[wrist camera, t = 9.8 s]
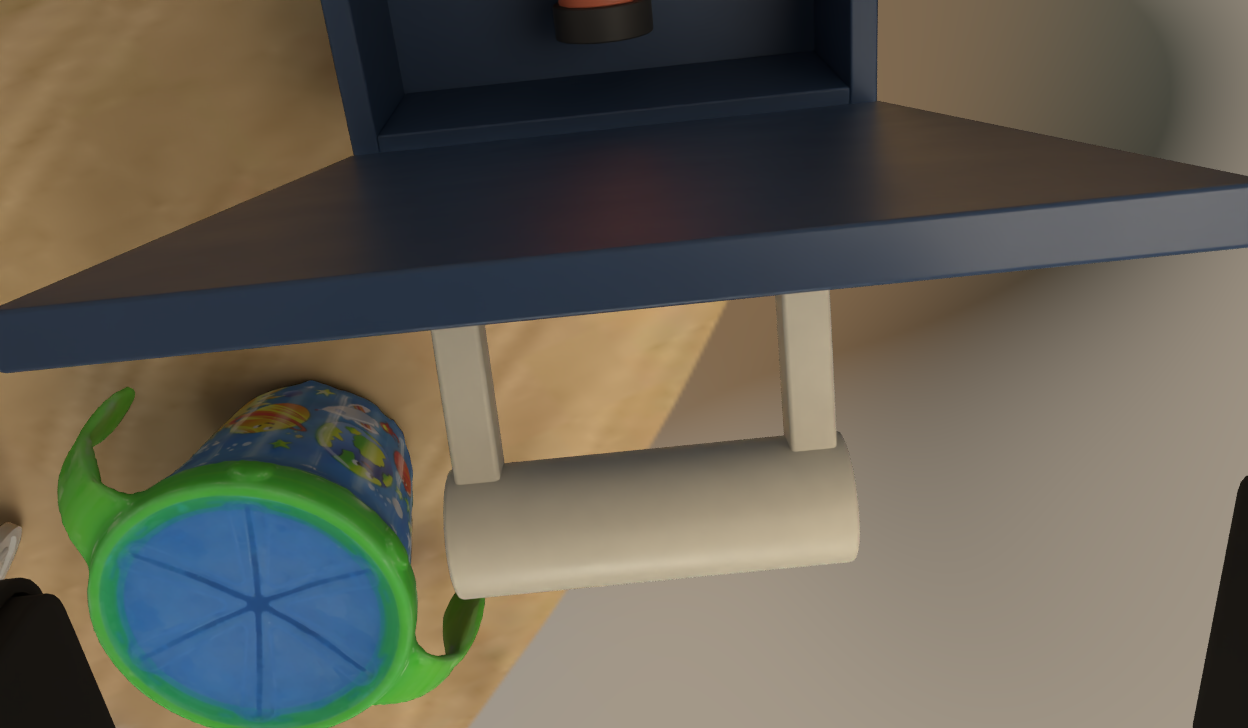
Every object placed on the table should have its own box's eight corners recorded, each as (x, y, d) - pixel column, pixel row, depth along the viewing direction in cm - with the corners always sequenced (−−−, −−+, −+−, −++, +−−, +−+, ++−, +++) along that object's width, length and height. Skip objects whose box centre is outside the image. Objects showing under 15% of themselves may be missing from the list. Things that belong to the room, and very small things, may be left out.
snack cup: (81, 431, 43) (-53, 593, 34) (228, 246, 40) (122, 372, 31) (396, 630, 48) (351, 818, 39) (549, 481, 45) (540, 648, 36)
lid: (-21, 312, 13) (91, 712, 15) (1276, 180, 13) (1246, 600, 14) (349, 155, 32) (381, 339, 33) (880, 100, 31) (886, 287, 33)
